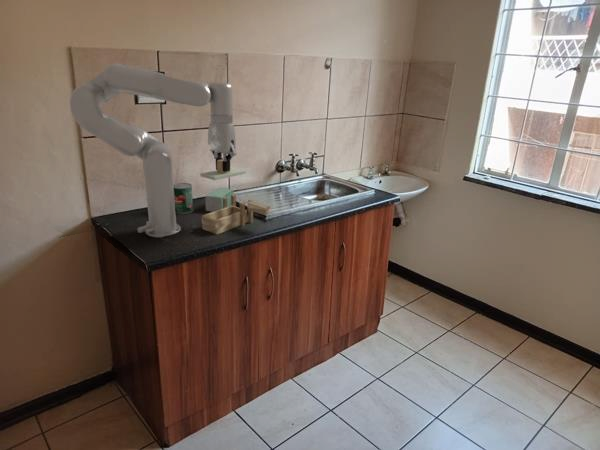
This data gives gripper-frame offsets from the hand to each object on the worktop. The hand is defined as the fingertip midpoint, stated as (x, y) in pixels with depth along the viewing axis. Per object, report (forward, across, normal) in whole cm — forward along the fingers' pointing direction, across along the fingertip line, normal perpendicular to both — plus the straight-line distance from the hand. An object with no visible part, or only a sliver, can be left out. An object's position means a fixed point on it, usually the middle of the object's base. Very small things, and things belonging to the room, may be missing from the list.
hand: (222, 169), depth 164 cm
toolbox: (+23, 0, 0) cm, 23 cm away
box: (+23, -17, +14) cm, 32 cm away
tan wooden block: (+15, +11, +7) cm, 20 cm away
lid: (+2, 0, 0) cm, 2 cm away
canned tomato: (+23, -27, +2) cm, 36 cm away
